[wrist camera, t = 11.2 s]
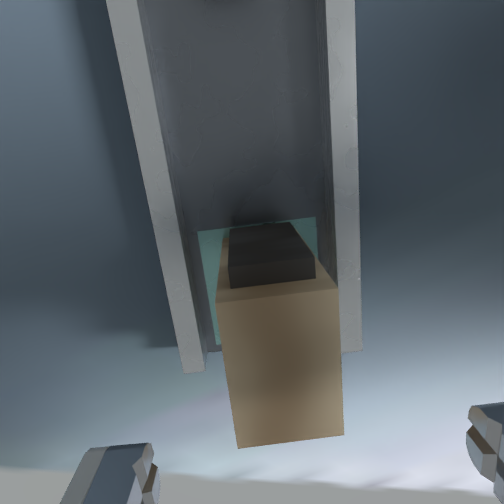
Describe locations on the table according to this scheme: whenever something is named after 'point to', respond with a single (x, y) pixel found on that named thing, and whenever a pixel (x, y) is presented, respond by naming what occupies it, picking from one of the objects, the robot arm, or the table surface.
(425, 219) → the table surface
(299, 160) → the rail
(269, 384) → the wooden block
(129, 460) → the robot arm
